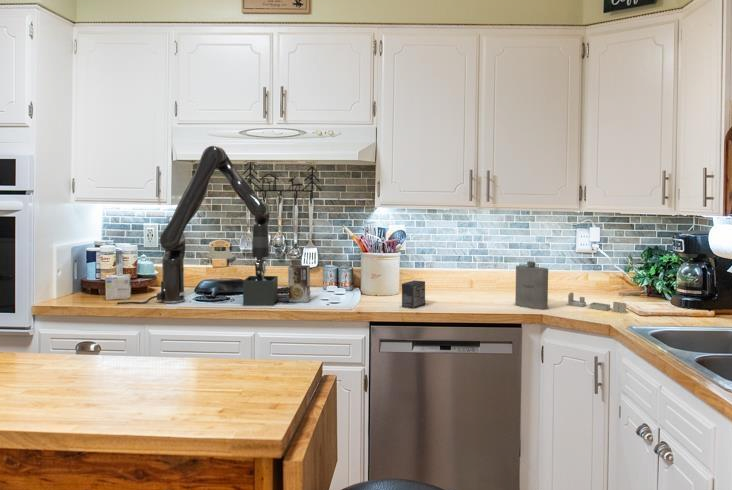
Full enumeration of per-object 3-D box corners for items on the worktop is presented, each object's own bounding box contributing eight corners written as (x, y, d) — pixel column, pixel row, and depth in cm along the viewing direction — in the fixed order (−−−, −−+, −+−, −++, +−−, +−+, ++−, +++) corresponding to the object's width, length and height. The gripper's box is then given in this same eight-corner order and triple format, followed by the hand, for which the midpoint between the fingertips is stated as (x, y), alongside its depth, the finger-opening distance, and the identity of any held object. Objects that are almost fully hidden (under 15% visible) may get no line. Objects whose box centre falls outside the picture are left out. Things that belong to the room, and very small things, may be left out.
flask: (512, 305, 275) (513, 260, 274) (518, 303, 279) (519, 259, 278) (543, 310, 265) (544, 264, 264) (549, 308, 269) (550, 262, 268)
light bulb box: (131, 296, 291) (130, 273, 290) (130, 298, 285) (129, 275, 284) (106, 297, 288) (106, 274, 287) (105, 300, 281) (104, 276, 281)
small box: (413, 302, 279) (413, 279, 279) (425, 304, 276) (426, 281, 275) (400, 306, 271) (401, 283, 270) (413, 308, 267) (413, 284, 266)
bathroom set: (567, 304, 276) (567, 293, 276) (571, 303, 280) (571, 291, 279) (624, 313, 260) (624, 300, 259) (628, 311, 263) (628, 299, 263)
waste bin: (243, 305, 272) (243, 280, 271) (249, 299, 285) (249, 275, 284) (272, 305, 272) (272, 280, 271) (277, 299, 285) (277, 276, 284)
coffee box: (310, 299, 285) (310, 265, 284) (307, 302, 278) (307, 267, 278) (291, 299, 286) (291, 264, 285) (288, 302, 279) (287, 266, 279)
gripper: (255, 244, 284) (255, 280, 285) (249, 247, 270) (249, 286, 271) (271, 244, 284) (271, 280, 285) (266, 247, 270) (266, 286, 271)
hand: (260, 283), depth 278 cm, fingers closed on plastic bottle, 4 cm apart
